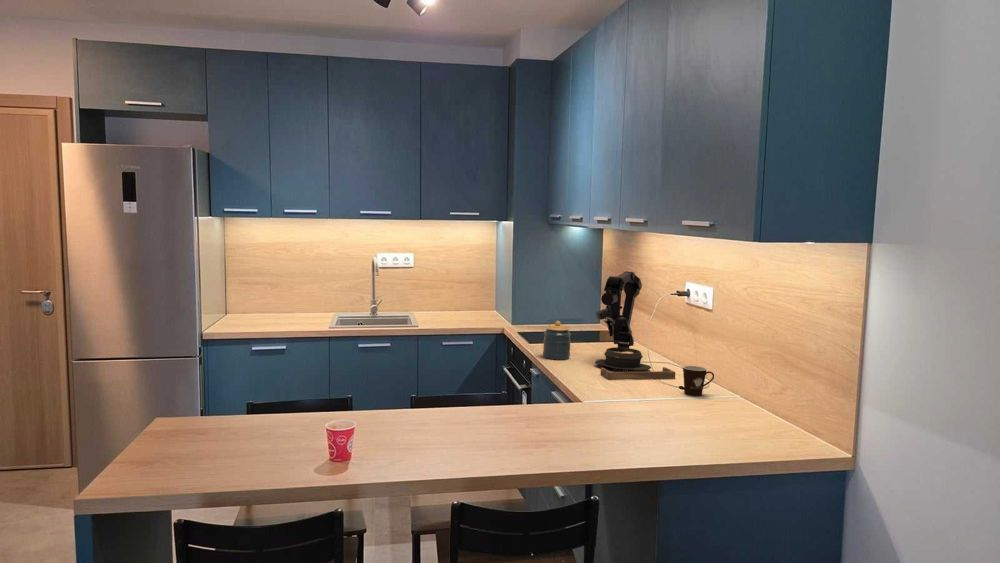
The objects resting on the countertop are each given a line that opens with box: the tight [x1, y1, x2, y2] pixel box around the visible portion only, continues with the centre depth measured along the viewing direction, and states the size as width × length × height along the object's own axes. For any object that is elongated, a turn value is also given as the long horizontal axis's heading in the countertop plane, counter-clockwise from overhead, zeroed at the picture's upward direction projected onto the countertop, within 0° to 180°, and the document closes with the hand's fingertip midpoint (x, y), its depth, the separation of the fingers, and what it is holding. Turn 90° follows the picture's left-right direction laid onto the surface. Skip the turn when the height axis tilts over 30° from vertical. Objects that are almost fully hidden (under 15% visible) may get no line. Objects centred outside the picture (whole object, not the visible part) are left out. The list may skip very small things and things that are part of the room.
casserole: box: [594, 346, 652, 372], centre depth 287 cm, size 25×19×8 cm
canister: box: [542, 320, 572, 361], centre depth 306 cm, size 13×13×18 cm
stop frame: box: [599, 366, 676, 381], centre depth 272 cm, size 9×30×3 cm, turn 103°
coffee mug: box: [682, 365, 715, 397], centre depth 246 cm, size 12×9×10 cm
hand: (612, 337), depth 299 cm, fingers open, 4 cm apart
